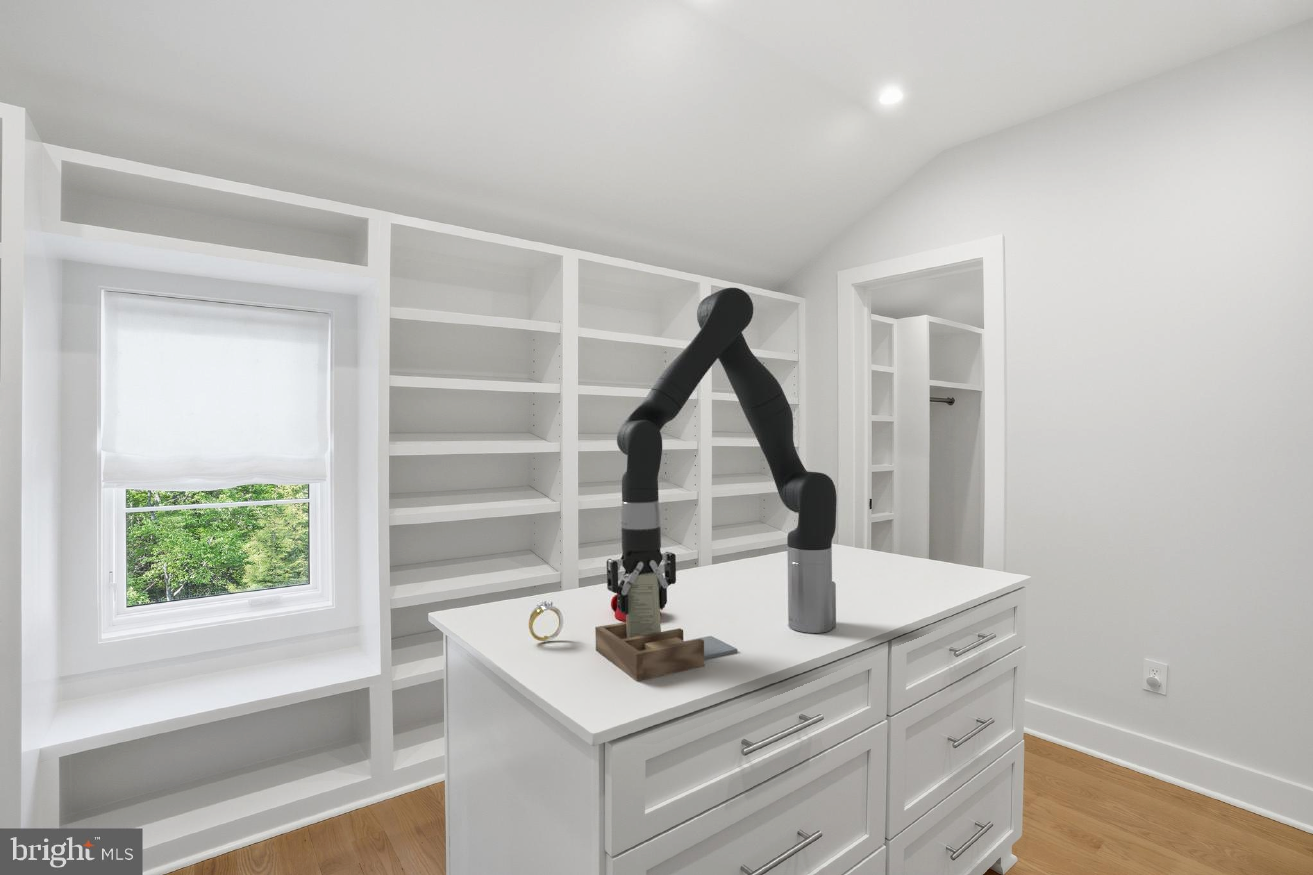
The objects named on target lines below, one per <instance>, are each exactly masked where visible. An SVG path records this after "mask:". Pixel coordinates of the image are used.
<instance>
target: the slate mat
mask: <svg viewBox="0 0 1313 875" xmlns="http://www.w3.org/2000/svg"><path fill="white" fill-rule="evenodd" d="M697 639H702V640H704V660H708V659H712V658H716V657H721V656H725V655H726V656H727V655H730V654H735V653H738V648H737V647H734V646H733V645H730V644H728V643H726V642H725V641H722V640H721V639H718V638H716V637H714V636H712V635H709V636H703V637H698V638H693V639H688V640H684V641H685V642H687V641H692V640H697Z"/></svg>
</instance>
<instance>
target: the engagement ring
mask: <svg viewBox="0 0 1313 875" xmlns="http://www.w3.org/2000/svg"><path fill="white" fill-rule="evenodd" d="M548 610H549V611H552V612H554V614H556V615H557V618H558V627H557V629H556V631H555V632H554V633H552V634H551V635H549V636H548V635H544V636H539V635H537V634H536V633H535V630H534V627H533V625H534V622H535V620H536V619H537V617H539V616H540V615H542V614H543V613H544V611H548ZM527 625H528V629H529V632H530V635H531V636H532V637H533V638H534V639H535V640H537V641H539V642H543V643H544V642H545V643H548V642H549V641H552V640H554V639H555V638H557V637H558V636H559V635H560V634H561V632H562V629H563V628H564V627H563V626H564V616H563V614H562V611H561V610H560V609H559V608H558V607H556V606H553V601H551V602H547V601H542V602H541V603H540V604H536V607H535V608H534V609H533V610H532V611H531V613H530V615H529V618H528V624H527Z"/></svg>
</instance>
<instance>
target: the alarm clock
mask: <svg viewBox="0 0 1313 875" xmlns="http://www.w3.org/2000/svg"><path fill="white" fill-rule="evenodd" d="M617 603H618V602H617V593H615V594H614V596H612V598H611V600H610V606H611V610H612V611H613V612H614V618H615V619H617V620H618V621H621V622H626V615H624V614H622V613H621V612H620V611H619V610H618V604H617ZM663 609H664V608H660V618H661V617H662V612H661V611H663Z"/></svg>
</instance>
